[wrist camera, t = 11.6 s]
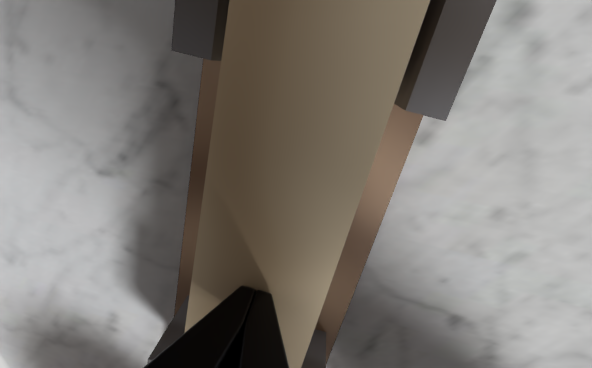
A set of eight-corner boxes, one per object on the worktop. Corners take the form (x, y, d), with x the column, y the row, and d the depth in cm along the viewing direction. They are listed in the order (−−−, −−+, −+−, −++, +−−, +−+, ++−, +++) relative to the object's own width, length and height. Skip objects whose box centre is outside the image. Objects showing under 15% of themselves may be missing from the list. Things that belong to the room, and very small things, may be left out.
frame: (310, 389, 18) (303, 488, 14) (176, 353, 18) (129, 441, 14) (485, -71, 10) (604, -176, 5) (237, -134, 10) (167, -283, 6)
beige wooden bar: (389, 11, 10) (443, -36, 5) (281, 358, 16) (261, 480, 11) (283, -16, 10) (241, -87, 5) (215, 340, 16) (167, 455, 11)
